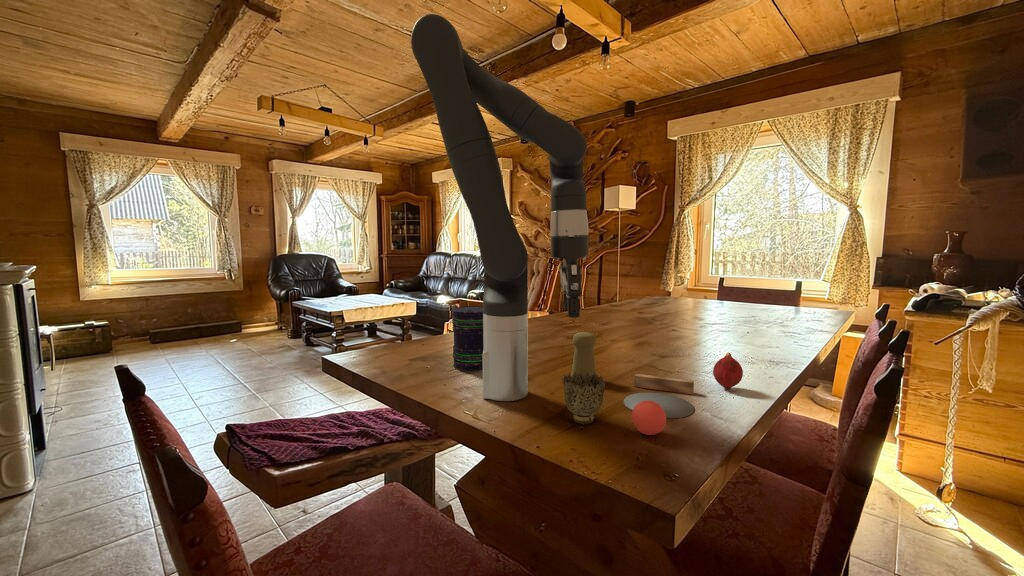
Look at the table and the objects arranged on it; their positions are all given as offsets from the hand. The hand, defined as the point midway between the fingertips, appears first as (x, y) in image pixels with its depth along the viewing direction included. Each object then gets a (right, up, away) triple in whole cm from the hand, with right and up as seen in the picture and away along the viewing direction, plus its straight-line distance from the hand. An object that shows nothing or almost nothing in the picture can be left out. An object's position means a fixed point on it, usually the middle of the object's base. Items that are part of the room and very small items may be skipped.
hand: (571, 313), depth 88 cm
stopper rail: (+21, -17, +5) cm, 27 cm away
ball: (+11, -16, -17) cm, 26 cm away
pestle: (+5, -16, +12) cm, 21 cm away
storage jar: (-22, -15, +23) cm, 36 cm away
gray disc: (+16, -18, -4) cm, 24 cm away
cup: (+1, -19, -11) cm, 22 cm away
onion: (+35, -17, +5) cm, 39 cm away
